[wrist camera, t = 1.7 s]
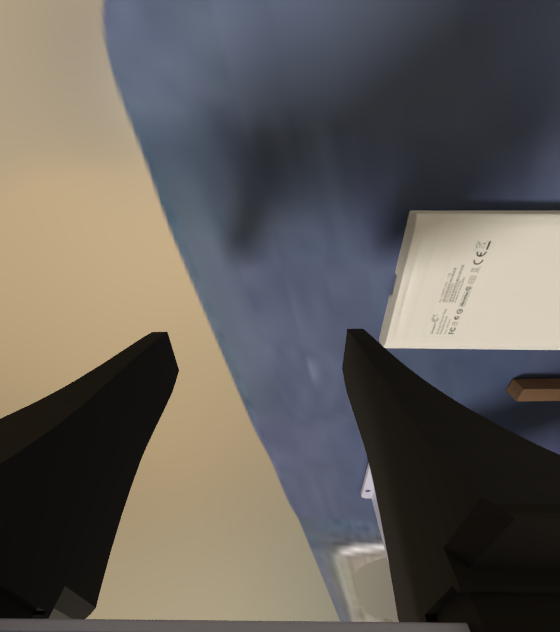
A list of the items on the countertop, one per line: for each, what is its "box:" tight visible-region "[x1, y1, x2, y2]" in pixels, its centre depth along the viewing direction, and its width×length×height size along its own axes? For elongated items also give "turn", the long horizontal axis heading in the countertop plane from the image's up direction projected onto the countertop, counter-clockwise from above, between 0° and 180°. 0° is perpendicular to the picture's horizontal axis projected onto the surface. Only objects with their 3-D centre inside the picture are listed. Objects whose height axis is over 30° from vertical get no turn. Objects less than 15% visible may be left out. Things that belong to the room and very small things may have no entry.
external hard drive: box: [379, 210, 560, 350], centre depth 15 cm, size 2×8×12 cm
